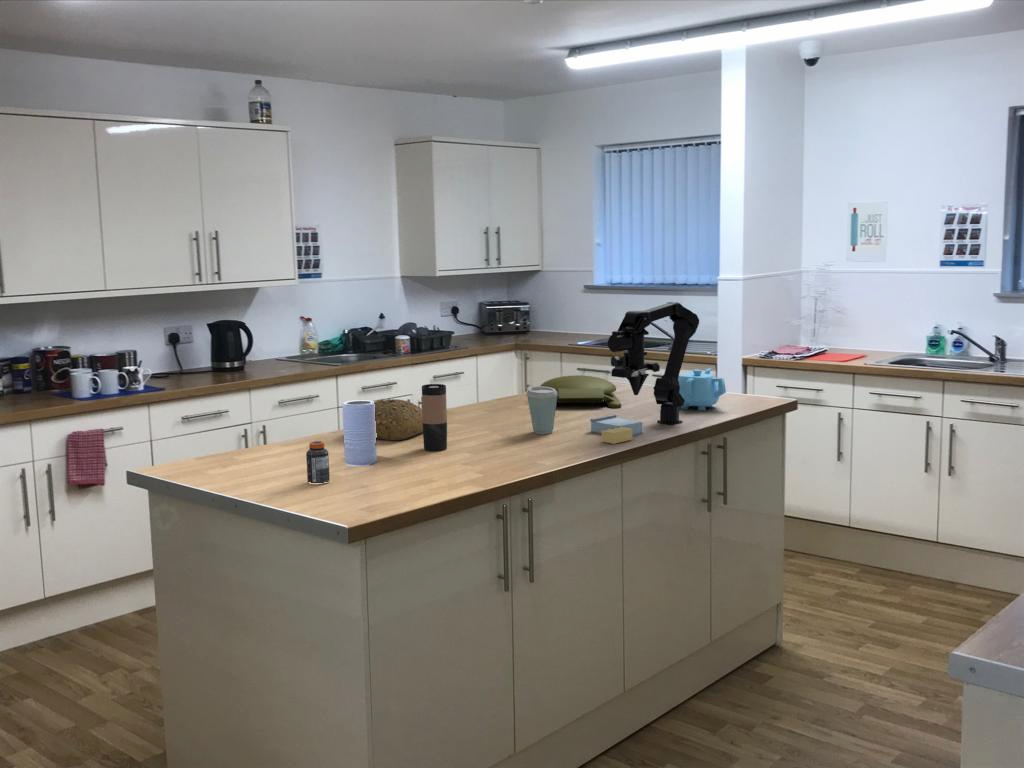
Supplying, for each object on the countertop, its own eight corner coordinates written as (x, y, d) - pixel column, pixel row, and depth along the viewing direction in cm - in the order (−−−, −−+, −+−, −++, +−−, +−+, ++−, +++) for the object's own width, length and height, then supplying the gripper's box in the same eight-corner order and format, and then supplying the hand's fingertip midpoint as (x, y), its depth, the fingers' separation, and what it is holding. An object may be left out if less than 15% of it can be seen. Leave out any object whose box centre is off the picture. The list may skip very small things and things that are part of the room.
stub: (620, 437, 324) (620, 426, 324) (632, 439, 321) (632, 428, 320) (601, 441, 319) (601, 430, 318) (613, 443, 315) (613, 432, 314)
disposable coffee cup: (564, 431, 335) (564, 387, 333) (543, 437, 327) (543, 392, 325) (541, 427, 342) (540, 384, 340) (519, 432, 335) (519, 388, 332)
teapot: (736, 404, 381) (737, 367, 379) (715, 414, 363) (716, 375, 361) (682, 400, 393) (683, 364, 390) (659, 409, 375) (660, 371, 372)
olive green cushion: (622, 409, 377) (622, 383, 375) (540, 410, 376) (540, 385, 375) (611, 394, 412) (611, 370, 410) (536, 395, 411) (536, 371, 410)
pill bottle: (308, 480, 275) (307, 440, 274) (330, 479, 276) (329, 439, 274) (306, 485, 269) (304, 444, 268) (328, 485, 270) (326, 444, 268)
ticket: (612, 426, 343) (612, 414, 342) (643, 432, 332) (643, 419, 332) (589, 431, 336) (589, 418, 335) (620, 437, 325) (620, 424, 324)
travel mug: (451, 447, 314) (450, 384, 311) (441, 452, 307) (440, 388, 304) (429, 445, 317) (427, 383, 314) (419, 450, 310) (417, 387, 307)
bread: (436, 431, 340) (435, 396, 338) (405, 443, 321) (403, 407, 319) (375, 426, 350) (374, 392, 348) (341, 438, 331) (339, 402, 329)
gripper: (635, 344, 346) (635, 388, 349) (598, 350, 334) (599, 396, 336) (660, 346, 338) (660, 392, 341) (624, 352, 326) (624, 400, 328)
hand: (635, 395), depth 337 cm, fingers closed
